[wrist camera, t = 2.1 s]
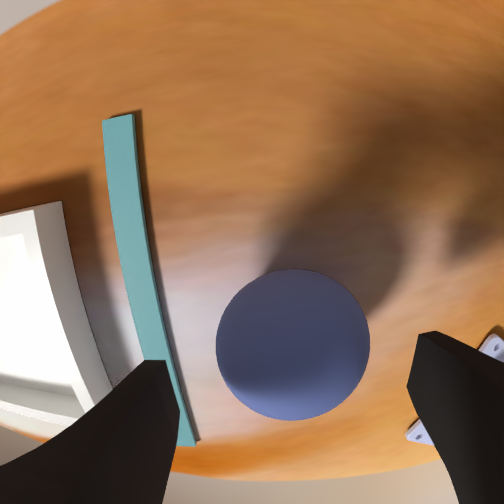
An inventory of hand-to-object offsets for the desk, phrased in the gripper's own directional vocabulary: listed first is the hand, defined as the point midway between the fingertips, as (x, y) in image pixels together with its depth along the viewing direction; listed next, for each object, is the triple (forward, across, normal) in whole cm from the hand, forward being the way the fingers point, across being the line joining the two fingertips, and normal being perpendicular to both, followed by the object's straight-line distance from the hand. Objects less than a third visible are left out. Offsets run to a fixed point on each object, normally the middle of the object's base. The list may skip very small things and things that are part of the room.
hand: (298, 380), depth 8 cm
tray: (+4, +14, 0) cm, 15 cm away
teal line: (+4, +5, 0) cm, 7 cm away
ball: (+2, 0, 0) cm, 2 cm away
